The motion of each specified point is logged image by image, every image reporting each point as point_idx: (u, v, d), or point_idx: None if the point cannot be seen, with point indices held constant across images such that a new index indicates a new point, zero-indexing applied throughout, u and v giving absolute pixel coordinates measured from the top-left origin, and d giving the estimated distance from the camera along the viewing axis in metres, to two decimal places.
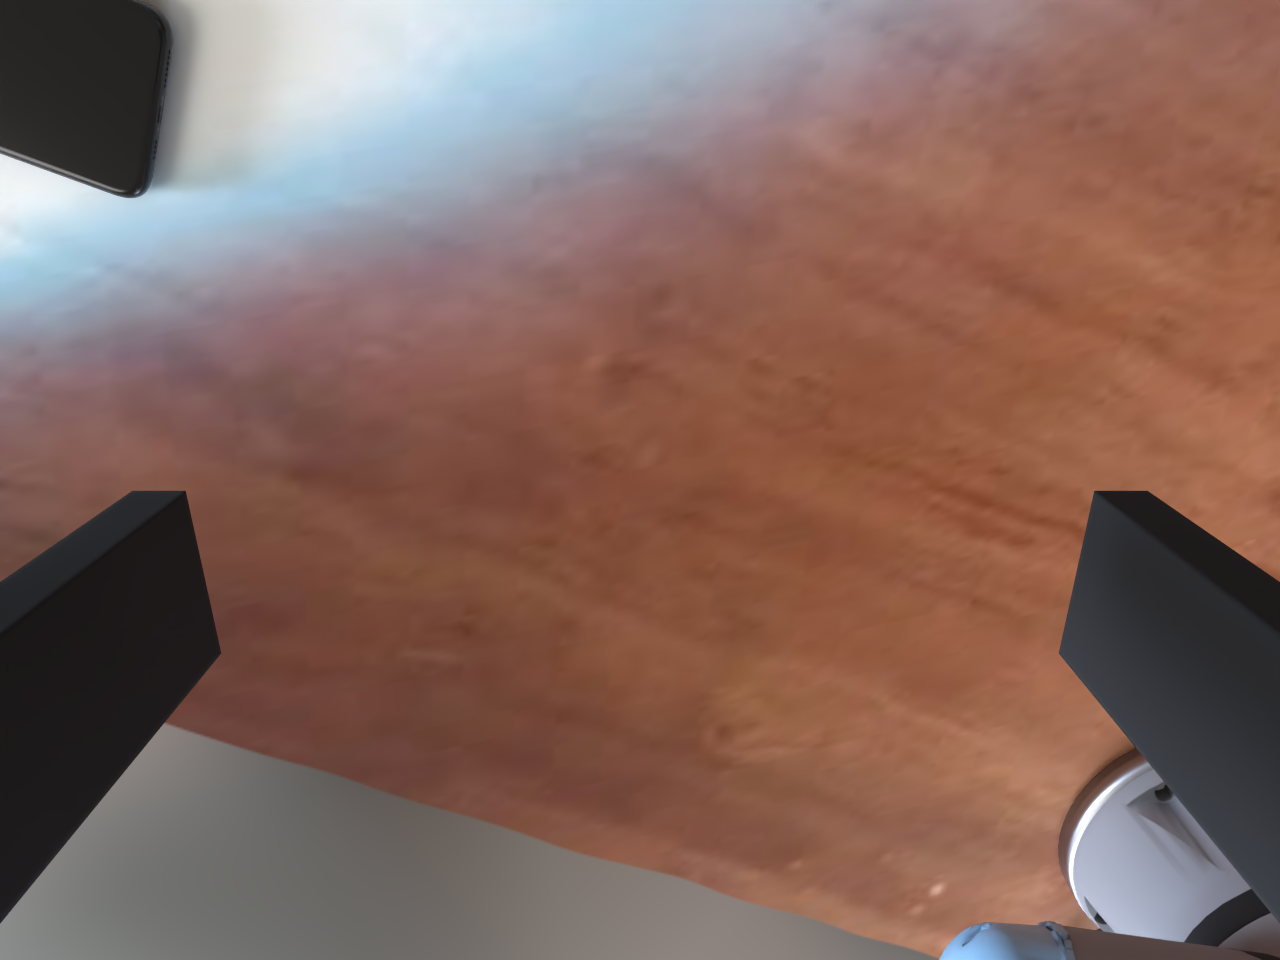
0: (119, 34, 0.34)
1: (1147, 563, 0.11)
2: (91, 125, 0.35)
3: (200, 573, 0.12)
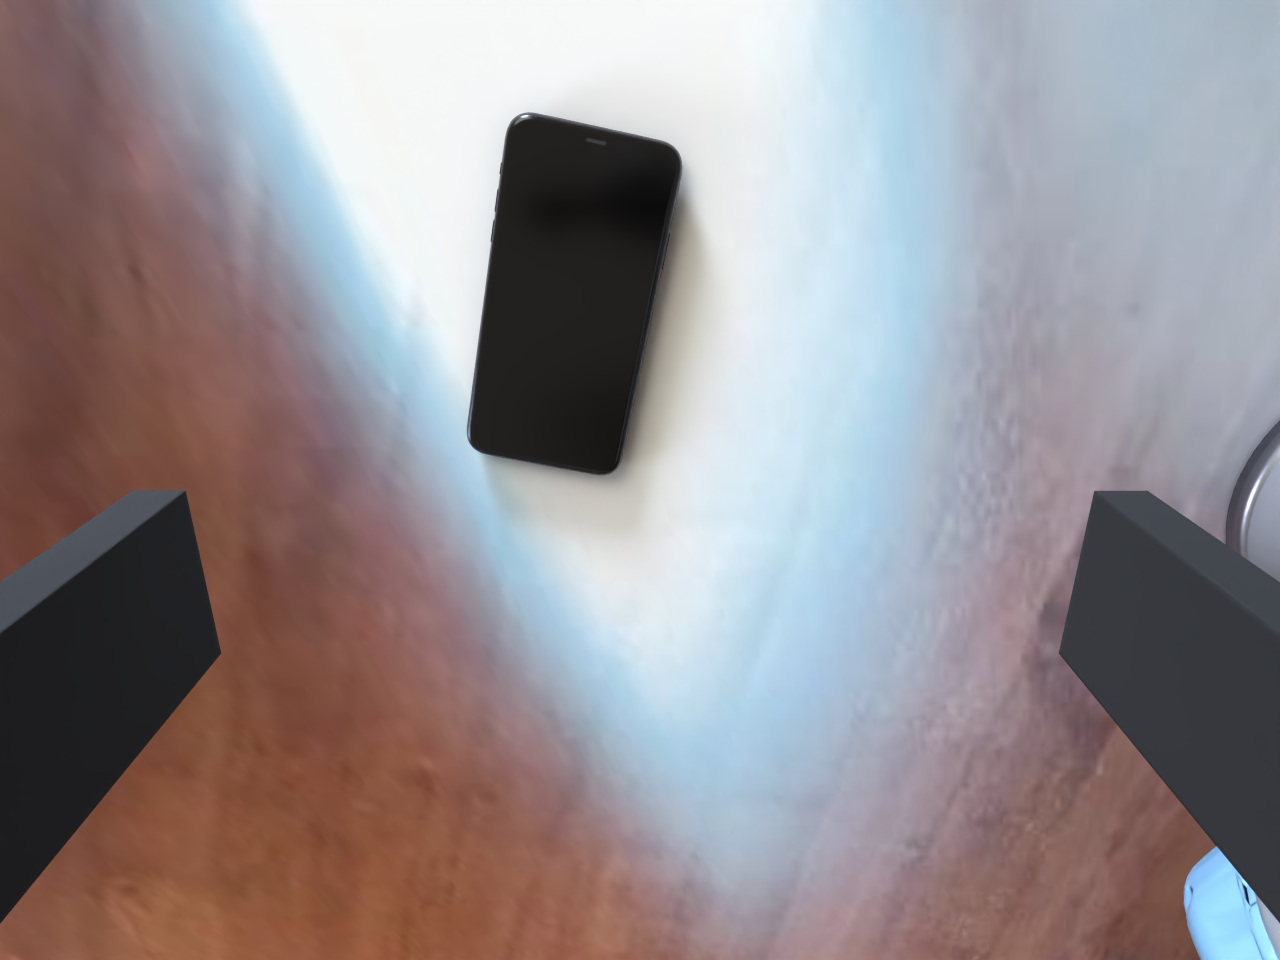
0: (595, 442, 0.42)
1: (1147, 562, 0.11)
2: (520, 416, 0.41)
3: (200, 573, 0.12)
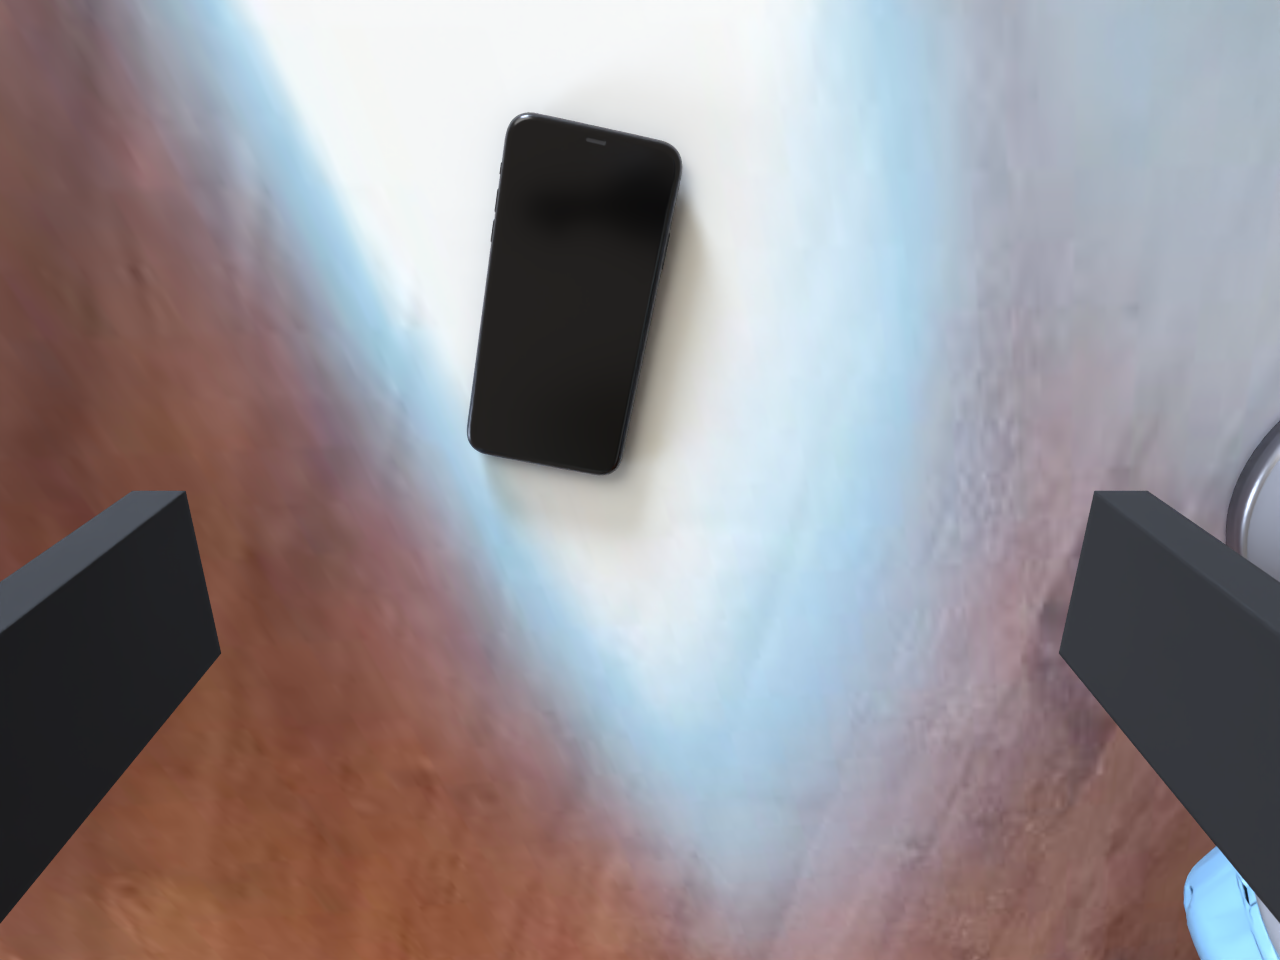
0: (595, 442, 0.42)
1: (1147, 562, 0.11)
2: (520, 416, 0.41)
3: (200, 573, 0.12)
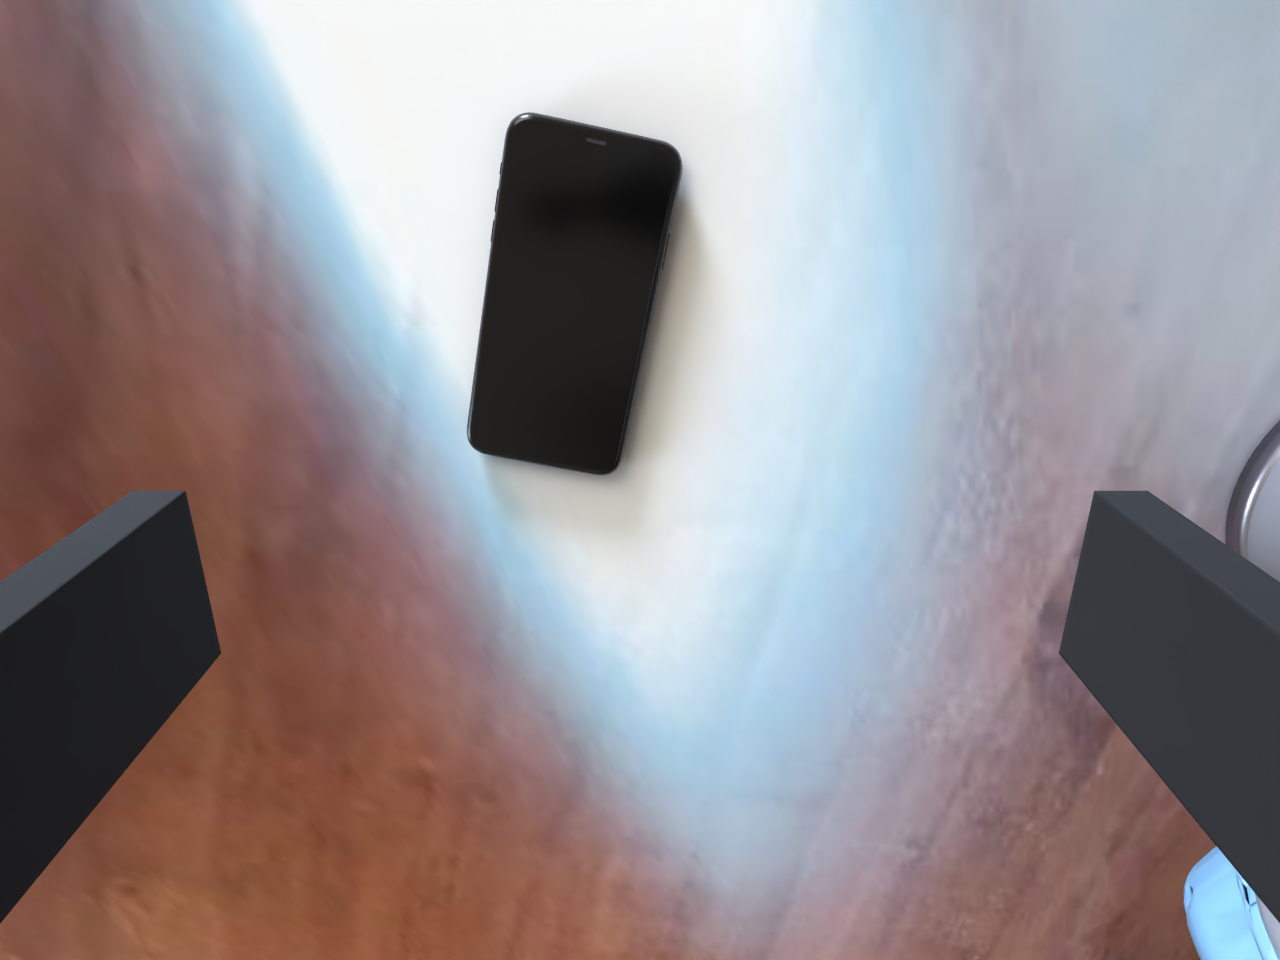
0: (595, 442, 0.42)
1: (1147, 562, 0.11)
2: (520, 416, 0.41)
3: (200, 573, 0.12)
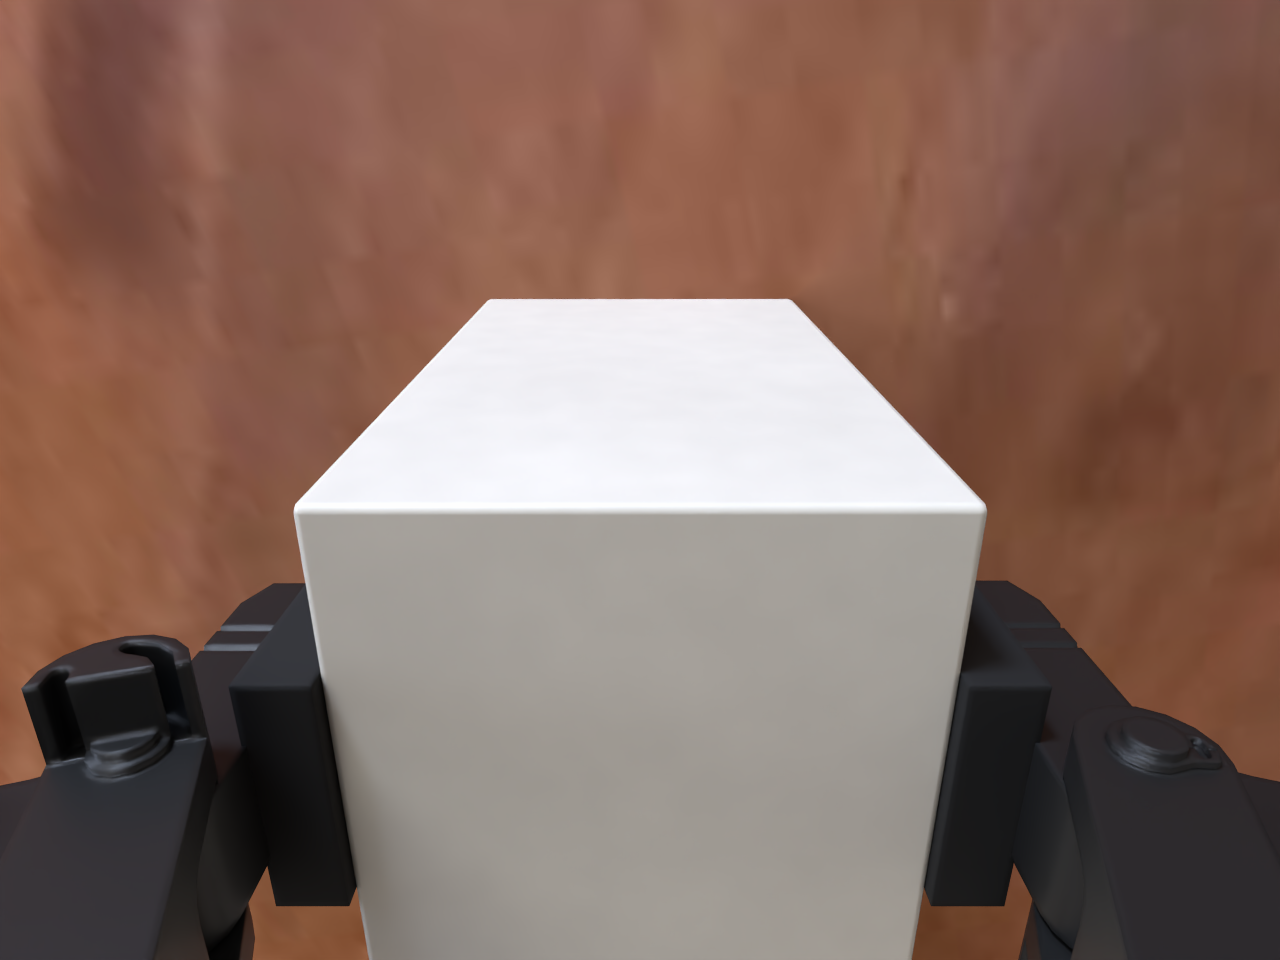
0: None
1: None
2: None
3: None
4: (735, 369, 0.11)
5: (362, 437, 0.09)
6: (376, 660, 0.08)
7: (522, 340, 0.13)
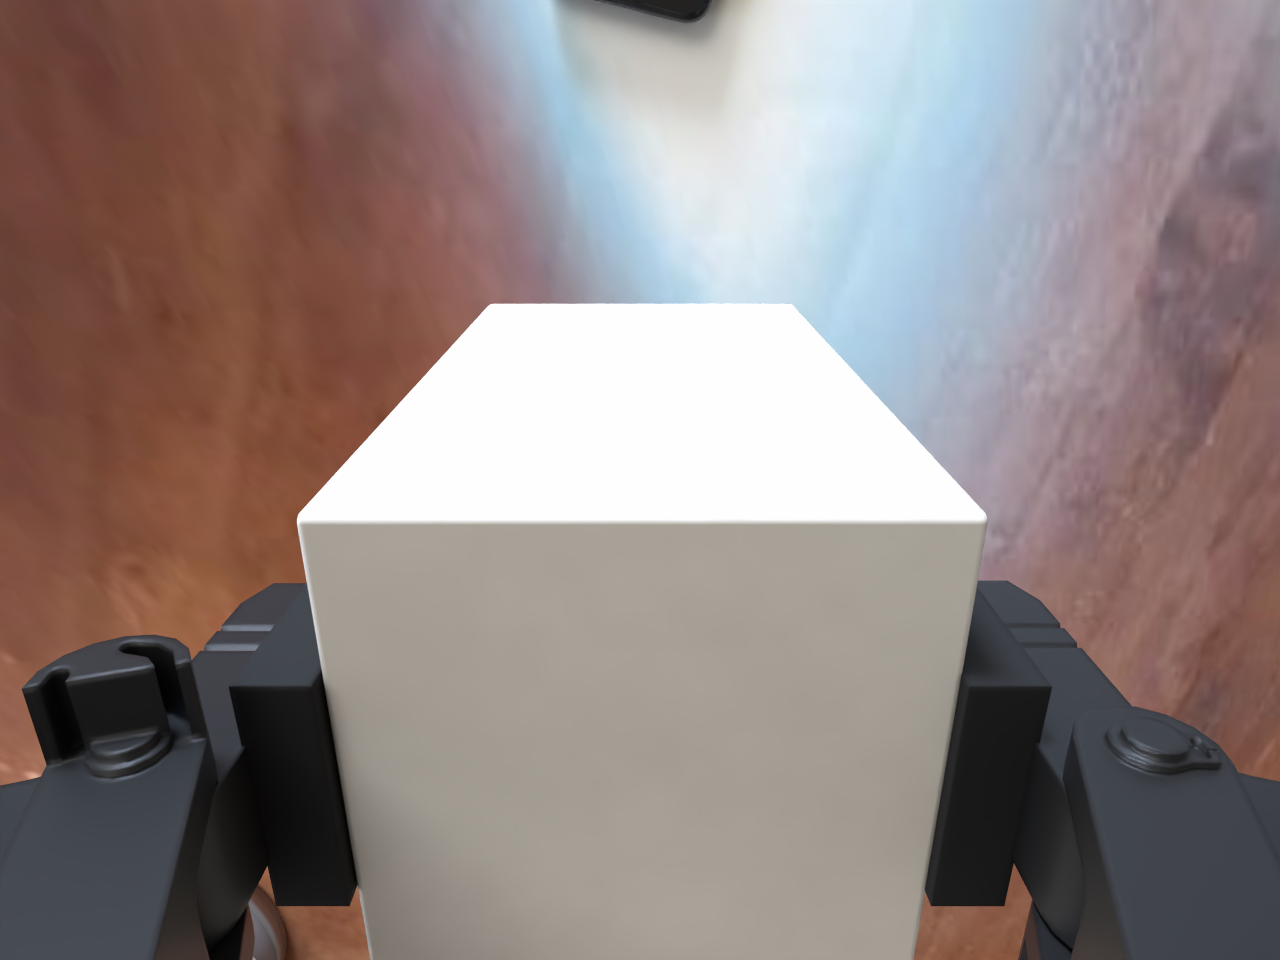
0: None
1: None
2: None
3: None
4: (736, 376, 0.11)
5: (364, 445, 0.09)
6: (379, 669, 0.08)
7: (524, 346, 0.13)
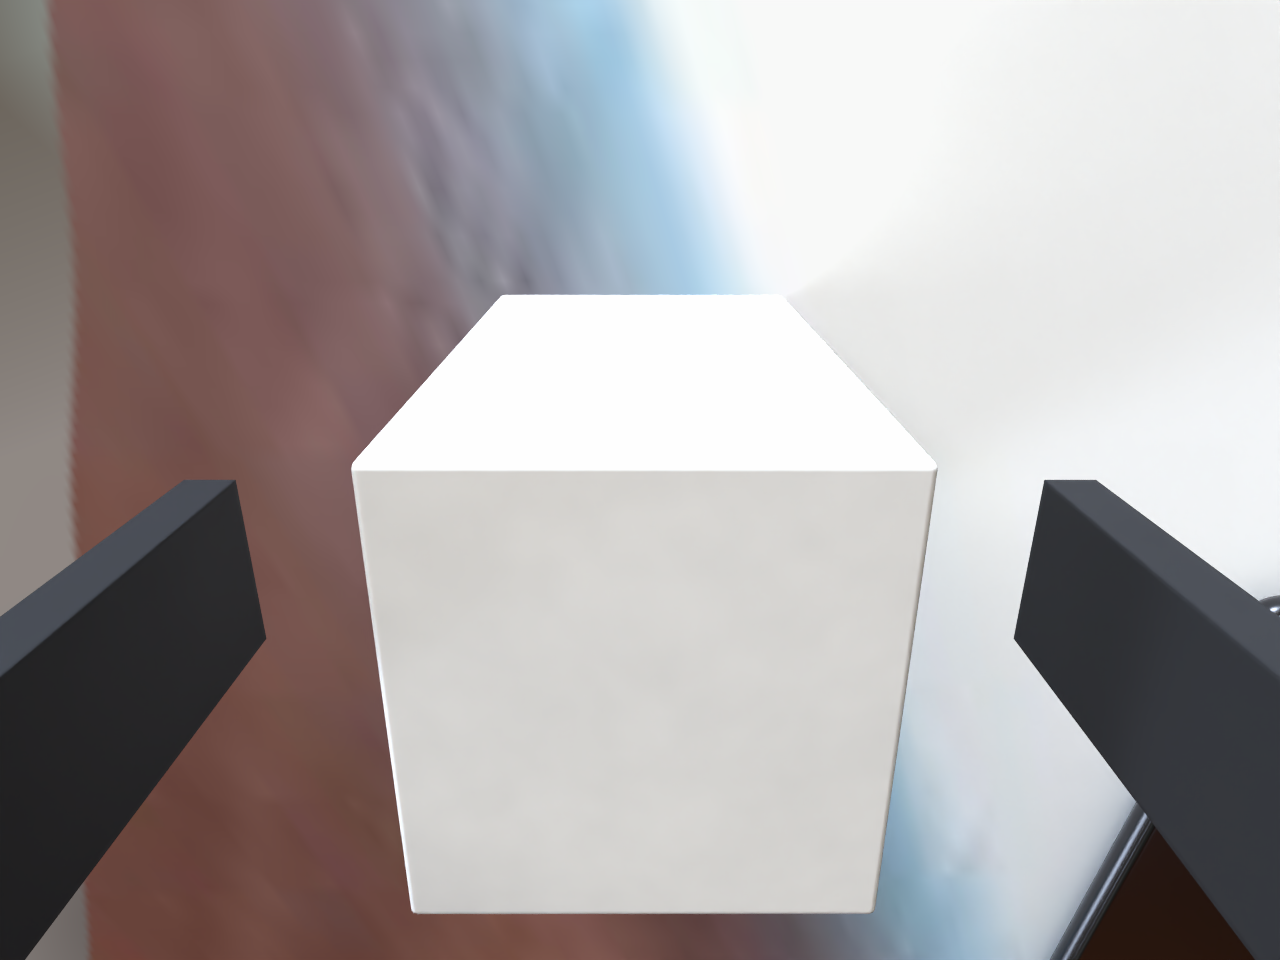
0: None
1: (1089, 549, 0.11)
2: None
3: (248, 560, 0.13)
4: (728, 356, 0.13)
5: (402, 411, 0.10)
6: (418, 598, 0.09)
7: (536, 331, 0.14)
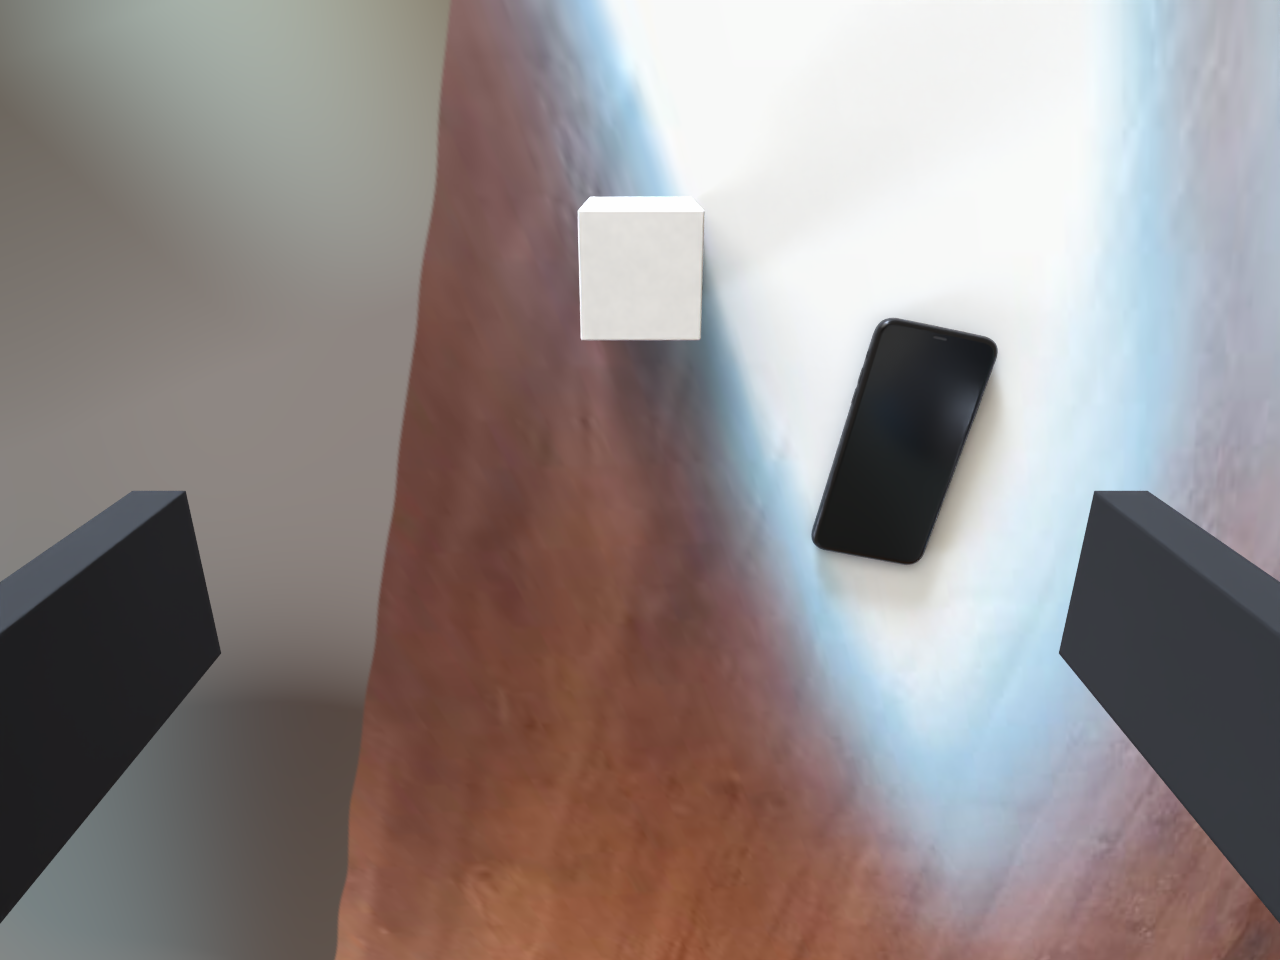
0: (907, 542, 0.56)
1: (1147, 563, 0.11)
2: (855, 523, 0.56)
3: (200, 573, 0.12)
4: (665, 203, 0.44)
5: (581, 207, 0.41)
6: (590, 243, 0.40)
7: (607, 201, 0.46)
